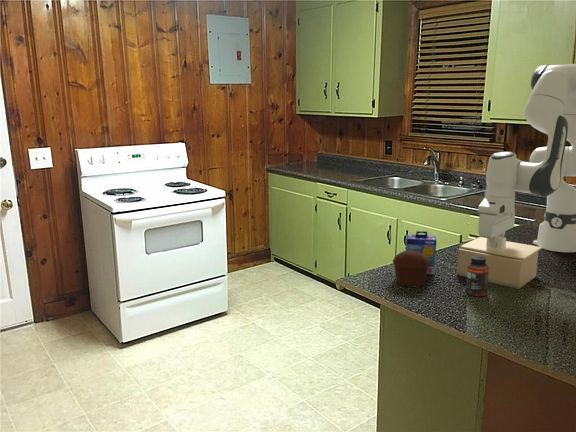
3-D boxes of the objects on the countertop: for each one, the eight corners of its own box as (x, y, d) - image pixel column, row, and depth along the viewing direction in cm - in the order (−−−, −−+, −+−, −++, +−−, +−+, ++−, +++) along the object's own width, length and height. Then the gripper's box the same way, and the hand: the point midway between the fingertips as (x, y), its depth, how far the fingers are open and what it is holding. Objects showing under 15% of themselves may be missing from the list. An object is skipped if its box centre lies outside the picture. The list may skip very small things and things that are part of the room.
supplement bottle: (485, 290, 156) (488, 255, 153) (488, 297, 150) (491, 261, 148) (465, 289, 157) (467, 253, 155) (467, 296, 152) (469, 259, 149)
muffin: (432, 278, 167) (433, 249, 165) (426, 290, 157) (427, 258, 155) (395, 274, 172) (396, 245, 170) (388, 285, 162) (389, 254, 160)
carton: (476, 264, 181) (478, 239, 179) (536, 276, 167) (538, 250, 165) (457, 274, 170) (458, 249, 168) (518, 288, 157) (521, 261, 155)
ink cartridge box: (405, 273, 172) (406, 231, 169) (404, 268, 178) (406, 227, 175) (435, 274, 171) (437, 232, 167) (434, 269, 176) (436, 228, 173)
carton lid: (480, 238, 181) (481, 225, 180) (541, 248, 167) (542, 235, 166) (460, 247, 170) (461, 234, 169) (523, 259, 156) (525, 245, 155)
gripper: (502, 198, 171) (499, 237, 174) (475, 207, 157) (472, 250, 160) (521, 200, 167) (518, 241, 170) (496, 210, 153) (492, 254, 156)
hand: (495, 246), depth 165 cm, fingers closed on carton lid, 3 cm apart
